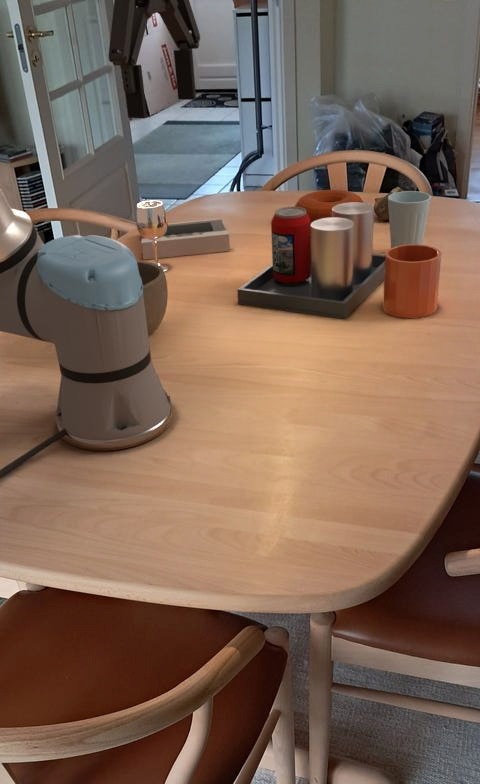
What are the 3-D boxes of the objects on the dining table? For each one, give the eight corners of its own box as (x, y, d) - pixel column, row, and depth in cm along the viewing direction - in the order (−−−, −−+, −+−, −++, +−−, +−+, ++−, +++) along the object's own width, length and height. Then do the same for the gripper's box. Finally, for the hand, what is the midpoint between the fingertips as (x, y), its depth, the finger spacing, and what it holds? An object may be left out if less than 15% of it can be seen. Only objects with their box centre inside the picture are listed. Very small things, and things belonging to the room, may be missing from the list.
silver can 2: (363, 286, 143) (365, 215, 136) (325, 282, 146) (325, 212, 139) (377, 272, 148) (379, 203, 141) (340, 268, 151) (341, 200, 144)
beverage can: (266, 278, 149) (263, 210, 142) (300, 270, 151) (298, 203, 144) (284, 289, 144) (281, 219, 137) (318, 281, 146) (317, 212, 139)
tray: (344, 319, 134) (345, 303, 132) (238, 304, 142) (237, 289, 140) (393, 270, 150) (394, 255, 149) (295, 259, 158) (295, 245, 157)
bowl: (119, 307, 144) (110, 249, 138) (195, 328, 135) (189, 267, 129) (42, 342, 134) (29, 282, 128) (118, 368, 124) (108, 304, 118)
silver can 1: (343, 305, 137) (344, 232, 130) (304, 300, 140) (303, 228, 133) (359, 290, 142) (360, 219, 135) (321, 285, 145) (320, 215, 138)
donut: (378, 216, 177) (379, 192, 174) (336, 236, 168) (336, 210, 165) (323, 206, 185) (322, 183, 182) (280, 224, 176) (279, 200, 174)
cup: (435, 255, 155) (439, 197, 149) (400, 263, 153) (403, 205, 147) (412, 244, 161) (415, 188, 155) (378, 252, 159) (380, 195, 153)
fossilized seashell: (422, 198, 177) (375, 207, 179) (420, 175, 171) (371, 184, 174) (425, 226, 174) (377, 234, 177) (422, 203, 168) (372, 212, 171)
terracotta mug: (427, 321, 131) (431, 265, 126) (375, 314, 135) (377, 259, 129) (448, 295, 139) (453, 241, 134) (399, 289, 143) (401, 236, 137)
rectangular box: (141, 242, 161) (138, 212, 174) (144, 265, 164) (141, 234, 177) (228, 234, 162) (220, 204, 175) (230, 256, 165) (221, 226, 178)
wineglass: (136, 272, 158) (127, 207, 151) (153, 262, 162) (145, 198, 155) (162, 275, 156) (154, 209, 149) (178, 265, 160) (171, 201, 153)
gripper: (170, -73, 119) (185, 91, 131) (63, -64, 101) (92, 125, 114) (215, -77, 115) (226, 92, 128) (113, -68, 98) (137, 127, 110)
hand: (163, 108), depth 121 cm, fingers open, 13 cm apart
